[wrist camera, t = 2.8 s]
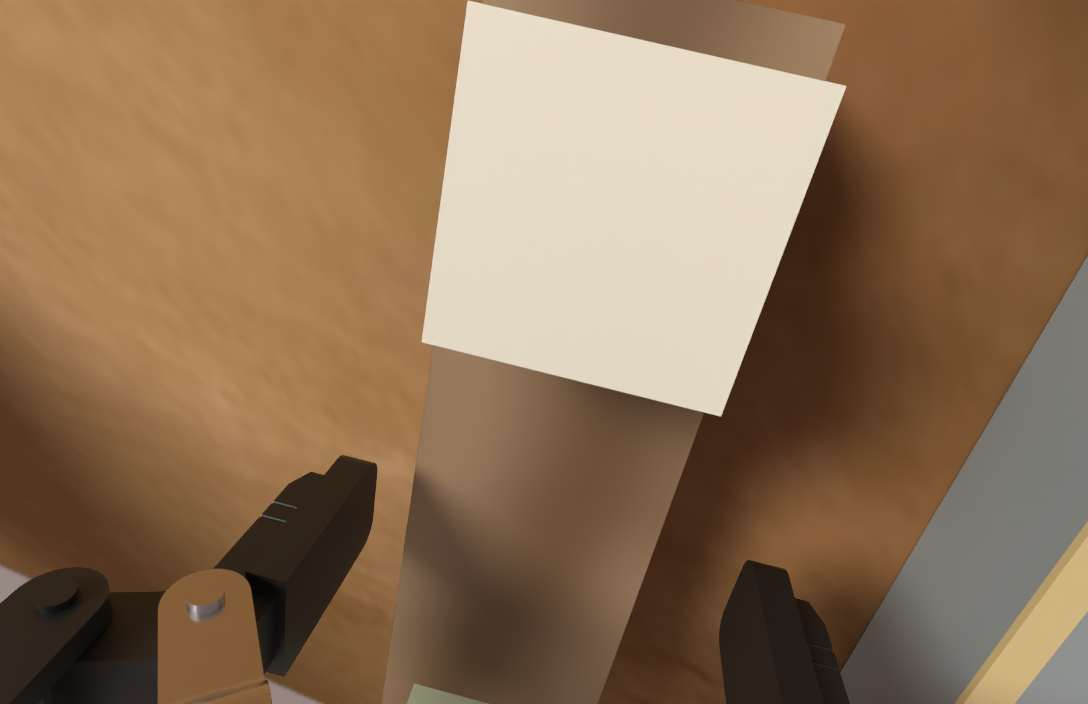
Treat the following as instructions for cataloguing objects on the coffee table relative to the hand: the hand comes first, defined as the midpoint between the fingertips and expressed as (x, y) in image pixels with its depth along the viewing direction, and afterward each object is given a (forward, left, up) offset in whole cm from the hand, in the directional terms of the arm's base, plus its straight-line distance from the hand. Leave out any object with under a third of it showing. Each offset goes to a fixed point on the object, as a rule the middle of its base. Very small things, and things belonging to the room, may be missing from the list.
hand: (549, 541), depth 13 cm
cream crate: (0, +7, -1) cm, 8 cm away
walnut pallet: (0, -1, -5) cm, 5 cm away
